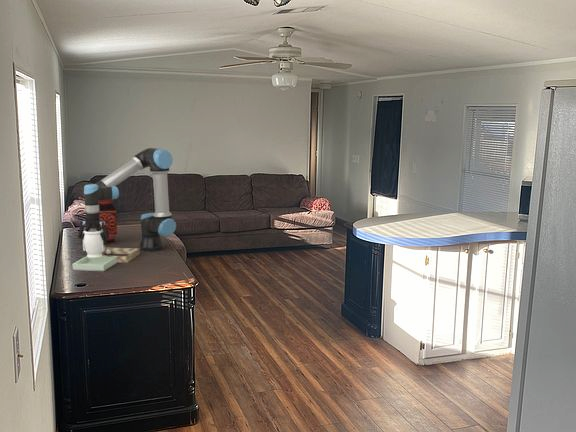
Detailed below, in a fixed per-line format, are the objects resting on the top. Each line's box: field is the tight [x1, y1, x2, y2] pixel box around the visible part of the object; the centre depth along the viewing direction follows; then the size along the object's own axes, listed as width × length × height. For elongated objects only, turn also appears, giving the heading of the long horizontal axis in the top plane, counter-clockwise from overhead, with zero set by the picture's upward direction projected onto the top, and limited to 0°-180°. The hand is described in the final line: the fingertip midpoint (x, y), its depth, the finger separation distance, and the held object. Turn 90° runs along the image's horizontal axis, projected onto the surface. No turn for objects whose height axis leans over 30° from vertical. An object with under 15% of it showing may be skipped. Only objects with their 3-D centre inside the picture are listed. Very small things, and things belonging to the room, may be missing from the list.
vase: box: [99, 199, 118, 245], centre depth 380 cm, size 14×14×30 cm
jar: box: [83, 228, 103, 258], centre depth 324 cm, size 11×10×15 cm
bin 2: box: [102, 246, 141, 264], centre depth 345 cm, size 22×20×4 cm
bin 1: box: [72, 255, 118, 272], centre depth 326 cm, size 18×18×4 cm
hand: (94, 250), depth 324 cm, fingers closed on jar, 10 cm apart
